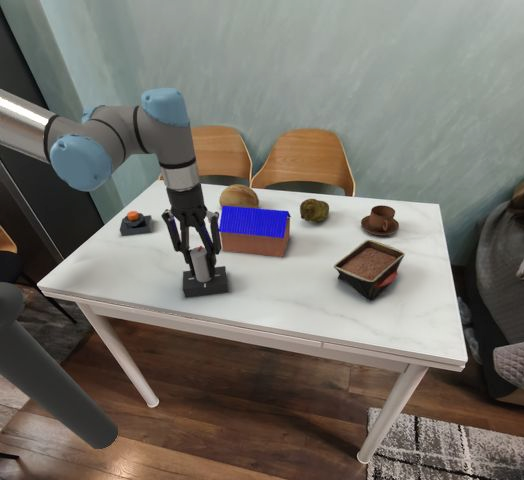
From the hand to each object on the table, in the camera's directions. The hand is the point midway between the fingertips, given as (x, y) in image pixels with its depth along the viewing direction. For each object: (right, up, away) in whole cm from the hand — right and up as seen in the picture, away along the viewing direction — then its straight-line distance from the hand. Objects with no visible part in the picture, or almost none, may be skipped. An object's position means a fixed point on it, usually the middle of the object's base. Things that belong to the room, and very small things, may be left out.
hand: (203, 273), depth 83 cm
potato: (+34, +24, +23) cm, 48 cm away
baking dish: (+45, -2, +2) cm, 45 cm away
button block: (-28, +22, +25) cm, 44 cm away
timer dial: (0, -1, +1) cm, 1 cm away
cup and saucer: (+55, +19, +18) cm, 61 cm away
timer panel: (0, -3, +3) cm, 4 cm away
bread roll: (+7, +32, +31) cm, 45 cm away
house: (+14, +14, +16) cm, 25 cm away
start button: (-28, +25, +22) cm, 44 cm away
